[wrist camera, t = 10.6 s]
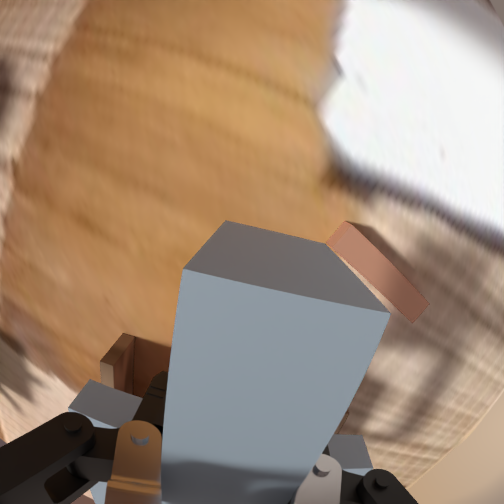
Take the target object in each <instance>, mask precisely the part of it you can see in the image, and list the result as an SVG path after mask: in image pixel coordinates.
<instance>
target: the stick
mask: <svg viewBox="0 0 504 504" xmlns="http://www.w3.org/2000/svg"><path fill="white" fill-rule="evenodd" d="M326 243H327V244H328V245H329V246H330V247H331V248H332V249H334V250H335V251H336V252H337V253H338V254H339V255H340V256H341V257H343V258H344V259H345V260H346V261H347V262H348V263H349V264H350V265H351V266H352V267H354V268H355V269H356V270H357V271H358V272H359V273H360V274H361V275H362V276H363V277H364V278H366V279H367V280H368V281H369V282H370V283H371V284H372V285H373V286H374V287H375V288H376V289H377V290H378V291H379V292H380V293H382V294H383V295H384V296H385V297H386V298H387V299H388V300H389V301H390V302H391V303H392V304H393V305H394V306H395V307H396V308H397V309H398V310H399V311H400V312H401V313H402V314H403V315H404V316H405V317H406V318H408V319H409V320H410V321H411V322H412V323H413V322H414V321H415V320H416V319H417V318H418V317H419V315H420V314H421V313H422V312H423V311H424V310H425V309H426V307H427V306H428V305H429V302H428V301H427V300H426V299H425V298H424V297H423V296H422V295H421V294H420V293H419V292H418V290H417V289H416V288H415V287H414V286H413V285H412V284H411V283H410V282H409V281H408V280H407V279H406V278H405V277H404V276H403V275H402V274H401V273H400V271H399V270H398V269H397V268H396V267H395V266H394V265H393V264H392V263H391V262H390V261H389V260H388V259H387V258H386V257H385V256H384V255H383V254H382V253H381V252H380V251H379V250H378V249H377V248H376V247H375V246H374V245H373V244H372V243H371V242H370V241H369V240H368V239H366V238H365V237H364V236H363V235H362V234H361V233H360V232H359V231H358V230H357V229H356V228H355V227H354V226H353V225H352V224H350V223H348V222H346V221H344V222H343V223H342V224H341V225H340V226H339V228H338V229H337V230H336V231H335V232H334V233H333V235H332V236H331V237H330V238H329V239H328V240H327V242H326Z"/></svg>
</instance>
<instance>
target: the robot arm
mask: <svg viewBox="0 0 504 504" xmlns="http://www.w3.org/2000/svg"><path fill="white" fill-rule="evenodd" d="M167 382H168V372H164V371H162V372H161V373H159V374H158V375H156V376H155V377H154V378H153V380H152V382H151V384H150V386H149V388H148V389H147V391H146V394H145V395H144V397H143V399H142V401H141V403H140V405H139V407H138V409H137V411H136V413H135V415H134V417H133V419H132V420H131V421H129V422H126V423H124V424H123V425H122V426H121V427H120V428H113V429H112V428H102V427H94V426H93V424H92V422H91V421H90V419H89V418H87V417H86V416H85V415H83V414H80V413H77V412H65V413H62V414H60V415H58V416H56V417H55V418H53V419H51V420H49V421H48V422H46V423H44V424H42V425H41V426H39V427H37V428H35V429H33V430H32V431H30V432H28V433H26V434H24V435H23V436H21V437H19V438H17V439H15V440H13V441H11V442H10V443H8V444H6V445H4V446H2V447H0V504H71V503H72V502H73V501H75V500H76V499H77V498H78V497H80V496H81V495H83V494H84V493H85V492H86V491H88V490H89V489H90V488H92V487H93V486H94V485H95V484H97V483H98V482H107V487H106V494H105V503H104V504H162V489H161V454H162V439H163V425H164V413H165V402H166V392H167ZM288 504H418V503H417V501H416V500H415V499H414V498H413V497H412V496H411V495H410V494H409V492H408V491H407V490H406V489H405V488H404V487H403V485H402V484H401V483H400V482H399V481H398V480H397V478H396V477H395V476H394V475H393V474H392V473H390V472H388V471H386V470H383V469H373V470H370V471H368V472H367V473H366V474H365V475H364V476H362V475H358V474H354V473H350V472H347V471H344V470H342V469H341V466H340V464H339V463H338V462H337V461H336V460H335V459H334V458H332V457H331V456H330V452H329V448H328V444H327V446H326V447H325V449H324V451H323V452H322V454H321V455H320V457H319V459H318V460H317V462H316V463H315V465H314V466H313V468H312V470H311V471H310V473H309V474H308V476H307V477H306V478H305V480H304V481H303V483H302V484H301V486H298V487H297V488H296V490H295V491H294V492H293V494H292V498H291V500H290V501H289V502H288Z"/></svg>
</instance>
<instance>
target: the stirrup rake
mask: <svg viewBox="0 0 504 504" xmlns="http://www.w3.org/2000/svg"><path fill="white" fill-rule="evenodd" d="M390 315H391V313H390V312H389V311H388V310H387V308H386V307H385V306H384V305H383V304H382V303H381V302H380V301H379V300H378V299H377V298H376V296H375V295H374V294H373V293H372V292H371V291H370V290H369V289H368V288H367V287H366V286H365V285H364V284H363V282H362V281H361V280H360V279H359V278H358V277H357V276H356V275H355V274H354V273H353V272H352V271H351V270H350V269H349V268H348V267H347V266H346V265H345V264H344V263H343V261H342V260H341V259H340V258H339V257H338V256H337V255H336V254H335V253H334V252H333V251H332V250H331V249H330V248H329V247H328V246H327V245H326V244H324V243H320V242H316V241H312V240H307V239H303V238H299V237H295V236H291V235H287V234H282V233H278V232H274V231H270V230H265V229H261V228H257V227H252V226H248V225H244V224H239V223H235V222H231V221H225V222H224V223H223V224H222V225H221V226H220V227H219V228H218V230H217V231H216V232H215V233H214V234H213V235H212V236H211V237H210V239H209V240H208V241H207V242H206V243H205V244H204V245H203V246H202V248H201V249H200V250H199V251H198V252H197V253H196V254H195V256H194V257H193V258H192V259H191V260H190V261H189V262H188V264H187V265H186V266H185V267H184V268H183V272H182V278H181V284H180V291H179V297H178V304H177V311H176V318H175V325H174V332H173V340H172V347H171V356H170V364H169V373H168V382H167V392H166V402H165V413H164V425H163V439H162V454H161V489H162V504H288V502H289V501H290V500H291V498H292V494H293V492H294V491H295V490H296V488H297V487H298V486H301V484H302V483H303V481H304V480H305V478H306V477H307V476H308V474H309V473H310V471H311V470H312V468H313V466H314V465H315V463H316V462H317V460H318V459H319V457H320V455H321V454H322V452H323V451H324V449H325V447H326V446H327V444H328V448H329V452H330V456H331V457H332V458H334V459H335V460H336V461H337V462H338V463H339V464H340V466H341V469H342V470H344V471H347V472H350V473H354V474H358V475H362V476H364V475H365V474H366V473H367V472H368V471H370V470H372V469H373V466H372V463H371V460H370V457H369V454H368V451H367V448H366V445H365V442H364V439H363V436H362V435H343V434H334V432H335V430H336V429H337V427H338V425H339V423H340V422H341V420H342V418H343V416H344V414H345V413H346V411H347V409H348V407H349V405H350V403H351V401H352V399H353V397H354V395H355V393H356V391H357V390H358V388H359V385H360V383H361V381H362V379H363V377H364V375H365V373H366V371H367V369H368V367H369V365H370V362H371V360H372V358H373V356H374V354H375V351H376V349H377V347H378V344H379V342H380V340H381V337H382V335H383V332H384V330H385V328H386V325H387V323H388V320H389V318H390ZM142 399H143V398H140V397H137V396H134V395H131V394H128V393H125V392H123V391H120V390H117V389H114V388H111V387H109V386H106V385H103V384H101V383H98V382H96V381H93V380H91V379H90V380H89V381H88V382H87V384H86V385H85V386H84V388H83V389H82V390H81V391H80V393H79V394H78V395H77V397H76V398H75V399H74V401H73V402H72V403H71V404H70V406H69V407H68V410H69V412H77V413H80V414H83V415H85V416H86V417H87V418H89V419H90V421H91V422H92V424H93V426H94V427H102V428H112V429H113V428H120V427H121V426H122V425H123V424H124V423H126V422H129V421H131V420H132V419H133V417H134V415H135V413H136V411H137V409H138V407H139V405H140V403H141V401H142ZM106 487H107V482H98V483H97V484H95V485H94V486H93V487H92V488H90V490H91V493H92V496H93V499H94V501H95V504H104V503H105V494H106Z"/></svg>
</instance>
